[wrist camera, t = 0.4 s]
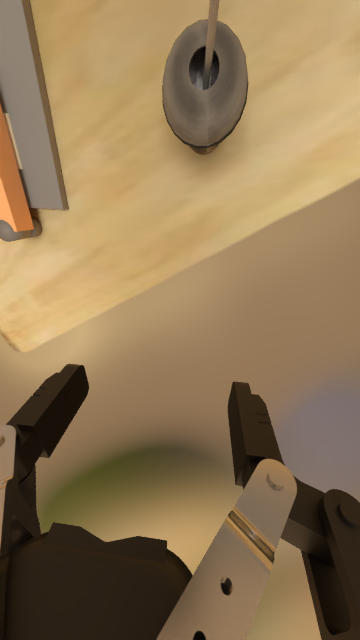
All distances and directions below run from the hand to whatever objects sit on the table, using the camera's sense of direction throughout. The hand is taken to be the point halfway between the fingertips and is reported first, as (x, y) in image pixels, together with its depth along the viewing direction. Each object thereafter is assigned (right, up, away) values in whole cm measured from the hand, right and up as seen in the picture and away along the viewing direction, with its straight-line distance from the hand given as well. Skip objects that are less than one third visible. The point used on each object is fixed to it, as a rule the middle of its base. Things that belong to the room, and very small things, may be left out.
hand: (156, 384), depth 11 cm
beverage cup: (+5, +28, +17) cm, 33 cm away
